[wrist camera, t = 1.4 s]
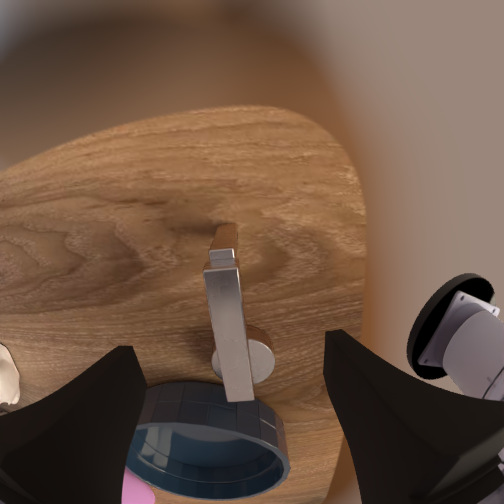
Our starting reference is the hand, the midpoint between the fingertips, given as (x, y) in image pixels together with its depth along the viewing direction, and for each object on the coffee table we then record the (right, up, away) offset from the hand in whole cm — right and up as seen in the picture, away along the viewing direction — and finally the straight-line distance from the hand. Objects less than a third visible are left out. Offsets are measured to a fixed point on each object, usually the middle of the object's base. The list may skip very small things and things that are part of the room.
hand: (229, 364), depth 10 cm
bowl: (-3, -12, +11) cm, 17 cm away
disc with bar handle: (0, +1, +8) cm, 8 cm away
